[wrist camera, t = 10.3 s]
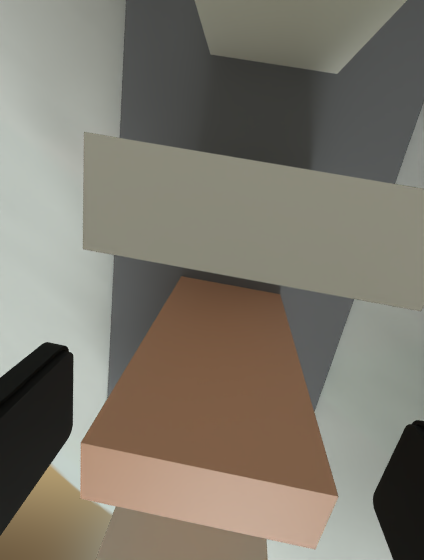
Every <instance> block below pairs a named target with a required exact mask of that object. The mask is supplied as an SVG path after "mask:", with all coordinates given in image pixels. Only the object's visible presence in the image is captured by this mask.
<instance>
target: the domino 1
mask: <svg viewBox="0 0 424 560" xmlns="http://www.w3.org/2000/svg"><path fill="white" fill-rule="evenodd" d="M406 1H407V0H195V4H196V7H197V10H198V14H199V17H200V21H201V24H202V27H203V31H204V34H205V38H206V41H207V44H208V48H209V51H210V54H211V55H217V56H224V57H230V58H237V59H243V60H250V61H256V62H263V63H269V64H276V65H282V66H289V67H295V68H302V69H308V70H315V71H321V72H328V73H334V74H338V73H339V71H340V70H341V69H342V68H343V67H344V66H345V65H346V64H347V63H348V62H349V61H350V60H351V59H352V58H353V57H354V56H355V55H356V54H357V53H358V51H359V50H360V49H361V48H362V47H363V46H364V45H365V44H366V43H367V42H368V41H369V40H370V39H371V38H372V37H373V36H374V35H375V34H376V33H377V31H378V30H379V29H380V28H381V27H382V26H383V25H384V24H385V23H386V22H387V21H388V20H389V19H390V18H391V17H392V16H393V15H394V14H395V13H396V11H397V10H398V9H399V8H400V7H401V6H402V5H403V4H404V3H405V2H406Z"/></svg>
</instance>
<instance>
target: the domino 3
mask: <svg viewBox="0 0 424 560" xmlns="http://www.w3.org/2000/svg"><path fill="white" fill-rule="evenodd" d="M96 560H268V559H267V542H266V539H265V538H260V537H256V536H251V535H246V534H242V533H237V532H232V531H228V530H223V529H219V528H214V527H209V526H205V525H200V524H196V523H191V522H186V521H182V520H177V519H173V518H168V517H163V516H159V515H154V514H149V513H145V512H140V511H136V510H131V509H126V508H122V507H117V506H116V507H115V510H114V512H113V515H112V518H111V520H110V523H109V525H108V528H107V531H106V533H105V536H104V538H103V541H102V544H101V546H100V549H99V551H98V554H97V557H96Z"/></svg>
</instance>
